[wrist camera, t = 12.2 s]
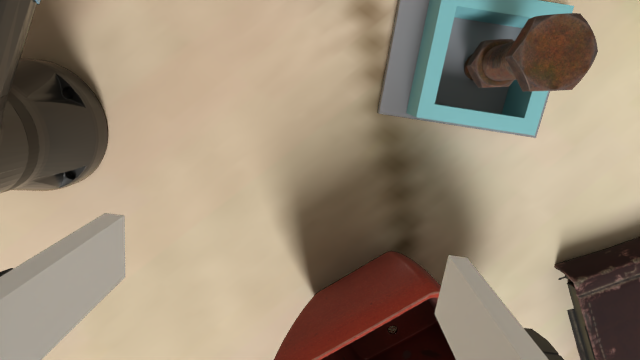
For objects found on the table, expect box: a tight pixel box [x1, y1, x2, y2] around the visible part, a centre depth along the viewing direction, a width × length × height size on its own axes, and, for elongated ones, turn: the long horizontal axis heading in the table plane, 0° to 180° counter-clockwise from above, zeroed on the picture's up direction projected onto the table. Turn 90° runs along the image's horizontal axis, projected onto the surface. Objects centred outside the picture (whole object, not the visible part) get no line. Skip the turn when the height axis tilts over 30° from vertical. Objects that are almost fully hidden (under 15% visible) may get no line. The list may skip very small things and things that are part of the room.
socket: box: [377, 0, 574, 138], centre depth 38 cm, size 18×13×6 cm
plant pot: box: [274, 251, 456, 360], centre depth 42 cm, size 19×19×17 cm
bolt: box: [464, 13, 598, 92], centre depth 33 cm, size 6×5×15 cm
